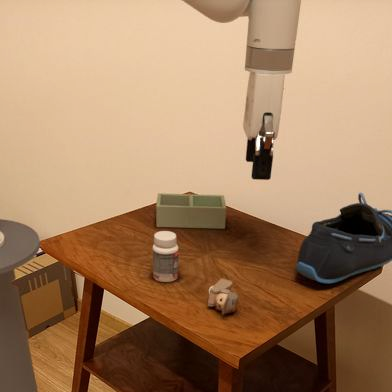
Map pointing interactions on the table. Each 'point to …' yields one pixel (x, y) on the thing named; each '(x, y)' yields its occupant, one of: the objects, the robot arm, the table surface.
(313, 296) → the table surface
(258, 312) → the table surface
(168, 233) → the pill bottle
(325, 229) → the moccasin
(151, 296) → the table surface
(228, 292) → the toy character
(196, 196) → the rack
